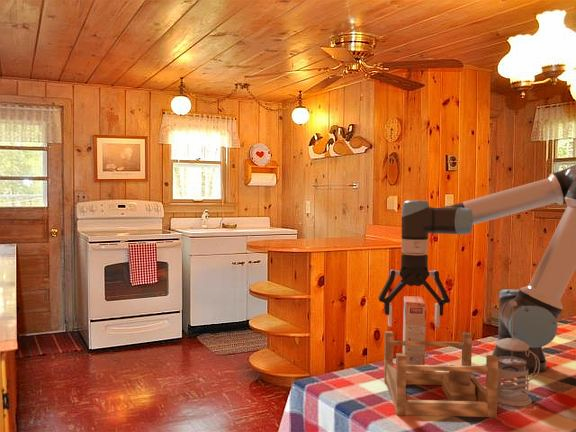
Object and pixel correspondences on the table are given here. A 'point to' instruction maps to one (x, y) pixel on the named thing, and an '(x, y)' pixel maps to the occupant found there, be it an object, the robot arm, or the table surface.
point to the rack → (439, 381)
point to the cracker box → (414, 330)
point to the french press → (513, 372)
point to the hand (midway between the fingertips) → (413, 326)
